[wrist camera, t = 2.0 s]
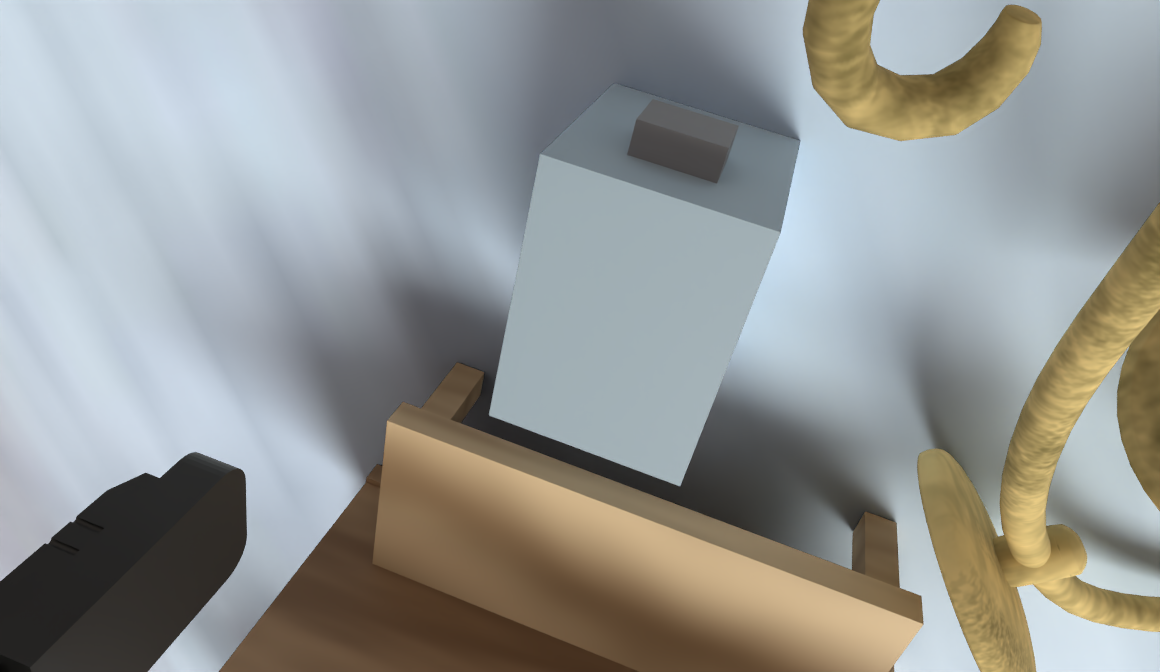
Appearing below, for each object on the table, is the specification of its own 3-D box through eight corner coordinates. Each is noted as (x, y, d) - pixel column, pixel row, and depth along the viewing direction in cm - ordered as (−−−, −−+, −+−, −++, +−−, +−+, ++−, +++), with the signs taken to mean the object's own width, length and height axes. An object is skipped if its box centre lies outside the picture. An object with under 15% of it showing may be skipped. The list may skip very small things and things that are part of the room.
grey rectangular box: (622, 51, 21) (547, 115, 16) (812, 109, 20) (795, 195, 15) (562, 303, 25) (488, 415, 20) (716, 357, 25) (680, 486, 20)
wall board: (390, 331, 28) (190, 538, 19) (979, 546, 25) (1036, 887, 17) (368, 550, 34) (210, 776, 26) (838, 739, 31) (829, 1057, 23)
